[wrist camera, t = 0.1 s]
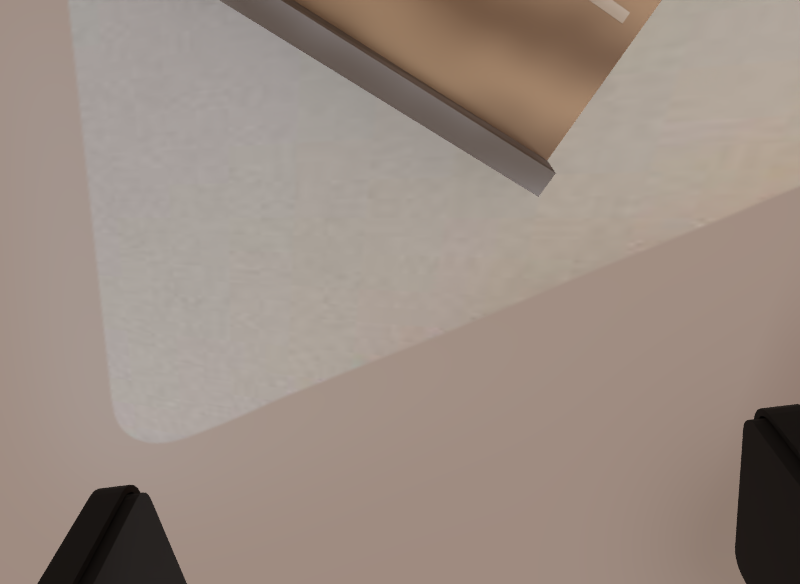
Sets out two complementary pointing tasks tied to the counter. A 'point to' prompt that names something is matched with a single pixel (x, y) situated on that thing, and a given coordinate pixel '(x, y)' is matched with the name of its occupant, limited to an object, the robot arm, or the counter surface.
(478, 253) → the counter surface
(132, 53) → the counter surface
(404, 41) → the board
